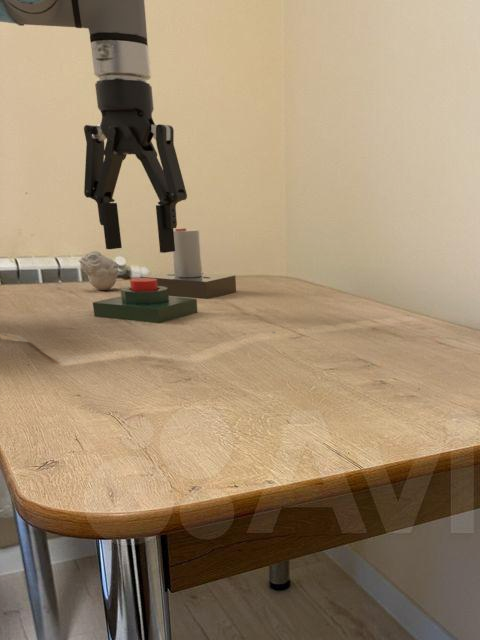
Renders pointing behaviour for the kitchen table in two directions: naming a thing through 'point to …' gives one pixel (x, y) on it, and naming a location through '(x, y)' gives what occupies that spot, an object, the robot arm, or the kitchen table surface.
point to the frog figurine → (99, 270)
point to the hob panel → (196, 284)
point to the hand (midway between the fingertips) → (140, 250)
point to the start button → (144, 284)
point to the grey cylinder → (187, 253)
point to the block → (145, 306)
